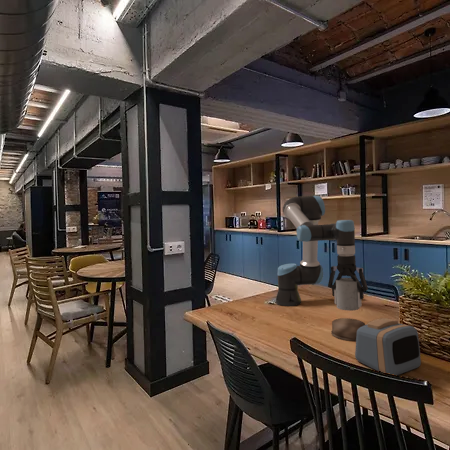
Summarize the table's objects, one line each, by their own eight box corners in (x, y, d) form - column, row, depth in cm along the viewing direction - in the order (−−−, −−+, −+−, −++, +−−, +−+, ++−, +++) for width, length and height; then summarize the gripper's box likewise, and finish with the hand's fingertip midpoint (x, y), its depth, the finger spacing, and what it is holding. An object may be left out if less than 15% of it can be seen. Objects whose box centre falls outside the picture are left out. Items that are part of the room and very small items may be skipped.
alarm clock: (391, 380, 107) (390, 332, 107) (352, 360, 122) (351, 318, 121) (423, 368, 114) (422, 323, 113) (383, 351, 129) (382, 311, 128)
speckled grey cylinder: (355, 304, 150) (354, 277, 150) (362, 310, 141) (361, 282, 140) (334, 304, 151) (333, 278, 151) (339, 310, 142) (338, 282, 141)
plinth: (326, 336, 146) (326, 325, 145) (337, 326, 157) (337, 316, 157) (361, 343, 136) (360, 331, 136) (370, 332, 148) (370, 321, 148)
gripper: (318, 254, 149) (320, 303, 150) (370, 257, 136) (372, 310, 136) (324, 252, 155) (326, 299, 156) (375, 254, 141) (376, 306, 142)
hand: (347, 304), depth 146 cm, fingers closed on speckled grey cylinder, 9 cm apart
